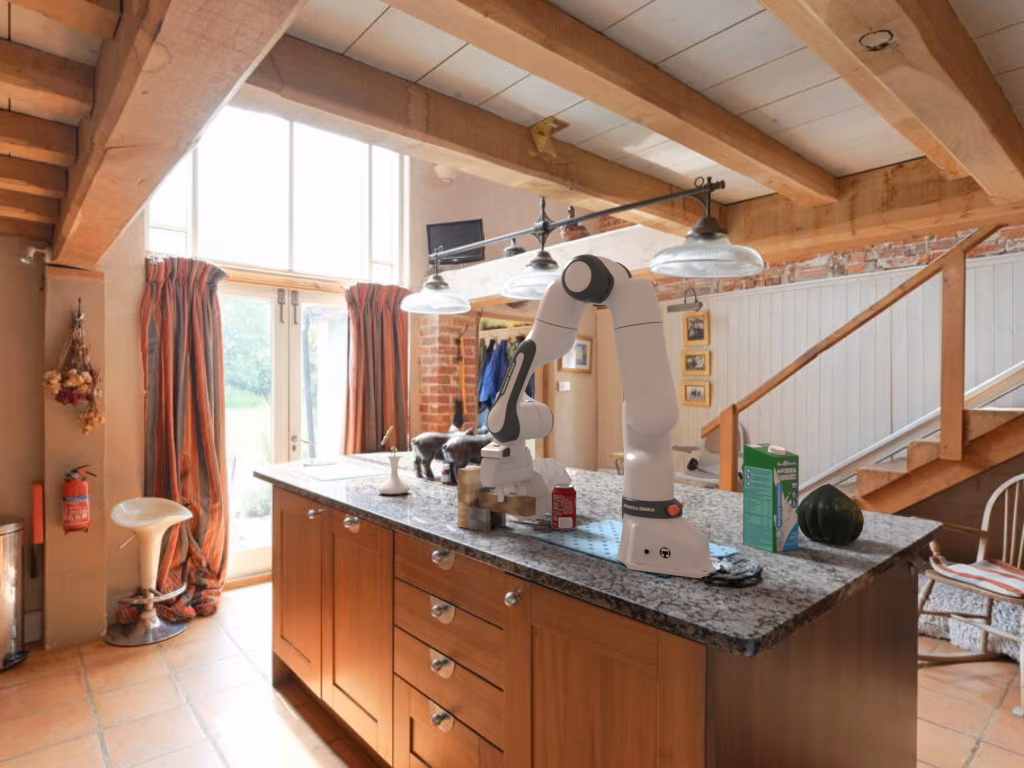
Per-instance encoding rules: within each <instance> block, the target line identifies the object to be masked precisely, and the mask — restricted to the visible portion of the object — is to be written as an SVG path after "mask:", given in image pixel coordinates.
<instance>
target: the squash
mask: <svg viewBox="0 0 1024 768" xmlns="http://www.w3.org/2000/svg"><path fill="white" fill-rule="evenodd" d="M864 523H865V519H864V515H863V512H862V509H861V507H860V506H859V505H858V504H857V502H856V501H854V500H853V499H852V498H850V496H848V495H847V494H846V493H844V492H843V491H842V490H841V489H839V488H838V487H836V486H835V485H832V484H831V483H825V484H823V485H821V486H819V487H817V488H815V489H813V490H812V491H810V492H809V493H808V494H807V495H806V496H805V497H804V498H803V499H802V500H801V502H800V503H799V529H800V530H799V531H800V532H801V533H802V535H804V536H805V537H806V538H808V539H809V540H813V541H820V540H821V541H822V540H824V539H825V540H826V541H827V540H828V541H829V540H831V541H832V543H833V544H835V545H838V546H842V545H845V544H849V543H852V542H855V541H856V540H858V538H860V536H861V535H862V532H863V529H864Z"/></svg>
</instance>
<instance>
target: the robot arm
mask: <svg viewBox="0 0 1024 768" xmlns="http://www.w3.org/2000/svg"><path fill="white" fill-rule="evenodd" d="M590 306H592V307H607V308H608V310H609V311H610V314H611V317H612V328H613V335H614V344H615V350H616V351H615V352H616V359H617V365H618V369H619V370H618V371H619V375H620V381H621V385H622V391H623V398H624V401H623V403H622V406H621V407H622V408H621V411H622V412H621V414H622V417H621V420H622V444H623V445H622V446H623V447H622V448H623V473H624V474H623V495H622V496H621V518H622V529H621V536H620V541H619V546H618V551H617V553H616V556H615V557H616V560H617V561H618V562H621V563H622V564H624V565H625V567H626V568H627V569H629V570H634V571H639V572H648V573H654V574H664V575H671V576H677V577H679V576H680V577H686V578H694V579H703V578H702V577H704V576H705V575H707V574H709V573H711V572H712V571H714V570H715V569H716V568H714V567H713V565H712V561H720V562H721V560H720V559H718V558H716V557H713V556H711V549H710V543H709V540H708V537H707V536H706V534H704V533H703V532H702V531H700V530H699V529H698V528H697V527H696V526H695V525H693V524H692V523H691V522H690V521H689V520H688V519H686V518H685V517H684V516H683V510H684V509H683V508H685V501H683V502H680V501H679V500H678V499H677V498H675V460H674V455H673V454H674V453H673V445H672V432H671V431H672V430H674V428H675V427H676V425H677V423H678V421H679V417H680V408H679V403H678V399H677V393H676V389H675V383H674V379H673V375H672V370H671V367H670V363H669V358H668V351H667V344H666V337H665V331H664V330H665V329H664V321H663V315H662V310H661V305H660V302H659V298H658V296H657V292H656V290H655V286H654V285H653V283H652V282H651V281H650V280H648V279H646V278H642V277H633V275H632V273H631V271H630V270H629V269H628V267H626V266H625V265H624V264H622V263H621V262H618V261H613V260H611V259H610V258H608V257H605V256H601V255H599V256H598V255H593V254H589V253H588V254H580V255H576V256H574V257H572V258H571V259H570V260H568V261H567V262H566V264H565V265H564V267H563V269H562V272H561V277H560V278H554V279H553V280H551V281H549V283H548V284H547V286H546V288H545V290H544V291H543V295H542V297H541V299H540V301H539V305H538V308H537V311H536V315H535V318H534V322H533V325H532V327H531V329H530V331H529V333H528V335H527V336H526V338H524V340H523V341H522V342H521V343H519V345H518V346H517V347H516V349H515V352H514V353H513V355H512V358H511V361H510V363H509V366H508V369H507V371H506V373H505V376H504V379H503V381H502V384H501V386H500V389H499V391H498V392H497V393H496V396H495V399H494V402H493V404H492V406H491V407H490V409H489V411H488V412H487V416H486V427H487V430H488V431H489V434H490V435H491V436H492V441H491V442H490V443H488V444H487V445H485V446H484V447H483V448H481V449H480V456H481V457H483V458H482V460H481V463H480V466H481V476H480V477H481V483H482V485H483V486H485V487H489V488H495V489H494V490H495V492H497V495H498V501H499V502H504V501H506V495H505V494H504V490H503V489H504V488H505V485H507V484H511V483H512V485H513V486H512V490H511V492H509V494H514V495H518V491H519V488H520V485H521V481H525V480H530V479H532V477H533V461H532V460H533V456H532V454H531V450H530V449H529V447H528V446H526V440H536V439H537V440H538V439H542V438H546V437H547V436H549V435H550V434H551V432H552V430H553V427H554V422H555V420H554V419H555V418H554V414H553V411H552V410H551V408H550V406H549V405H548V404H546V403H543V402H540V401H538V400H536V399H533V398H532V397H530V396H529V395H528V394H527V393H526V389H527V386H528V384H529V382H530V378H531V377H532V376H533V374H534V373H535V371H536V370H538V369H539V368H540V367H542V366H544V365H546V364H548V363H550V362H553V361H556V360H559V359H561V358H563V357H565V356H566V355H567V354H569V352H570V351H572V349H573V346H574V344H575V342H576V340H577V336H578V333H579V328H580V325H581V320H582V317H583V314H584V312H585V310H586V309H587V308H588V307H590ZM713 563H715V562H713Z"/></svg>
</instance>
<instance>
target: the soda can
mask: <svg viewBox="0 0 1024 768" xmlns="http://www.w3.org/2000/svg"><path fill="white" fill-rule="evenodd" d="M551 528H553V529H554V530H556V531H558V530H560V531H559V532H568V531H567V530H571V531H573V530H574V529H576V528H577V491H576V489H575V485H574V484H555V485H554V489H553V490H552V513H551Z"/></svg>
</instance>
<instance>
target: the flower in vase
mask: <svg viewBox="0 0 1024 768" xmlns="http://www.w3.org/2000/svg"><path fill="white" fill-rule="evenodd" d="M393 428H394V426H393V425H392V426H391V425H390V427H389V429H387V431H386V434H385V435H384V437H383V440H381V442H380V444H381V446H384V445H385V444H386V442H387V441H388V439H390V440H391V443H392V446H391V448H390V450H391V452H390V455H387V458H388V459H389V462H390V466H391V467H390V468H391V469H390V470H391V471H390V476H389V477H388V478H387V479H386V480H385V481H384V482H383V483H382V484H381V485H379V486H378V488H377V489H378V492H379V493H381V494H384V495H393V496H394V495H402V494H405V493H406V494H407V493H408V492H409V491H411V487H410V486H409V484H408V483H406V482H405V481H404V480H403V479H402V478H401V477H400V476H399V473H398V467H399V463H400V462H399V461H400V459H401V458H402V454H400V455H399V454H396V453H397V452H398V451H399V450H398V448H396V446H395V443H394V440H393V438H392V437H391V433H392V431H393Z"/></svg>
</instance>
